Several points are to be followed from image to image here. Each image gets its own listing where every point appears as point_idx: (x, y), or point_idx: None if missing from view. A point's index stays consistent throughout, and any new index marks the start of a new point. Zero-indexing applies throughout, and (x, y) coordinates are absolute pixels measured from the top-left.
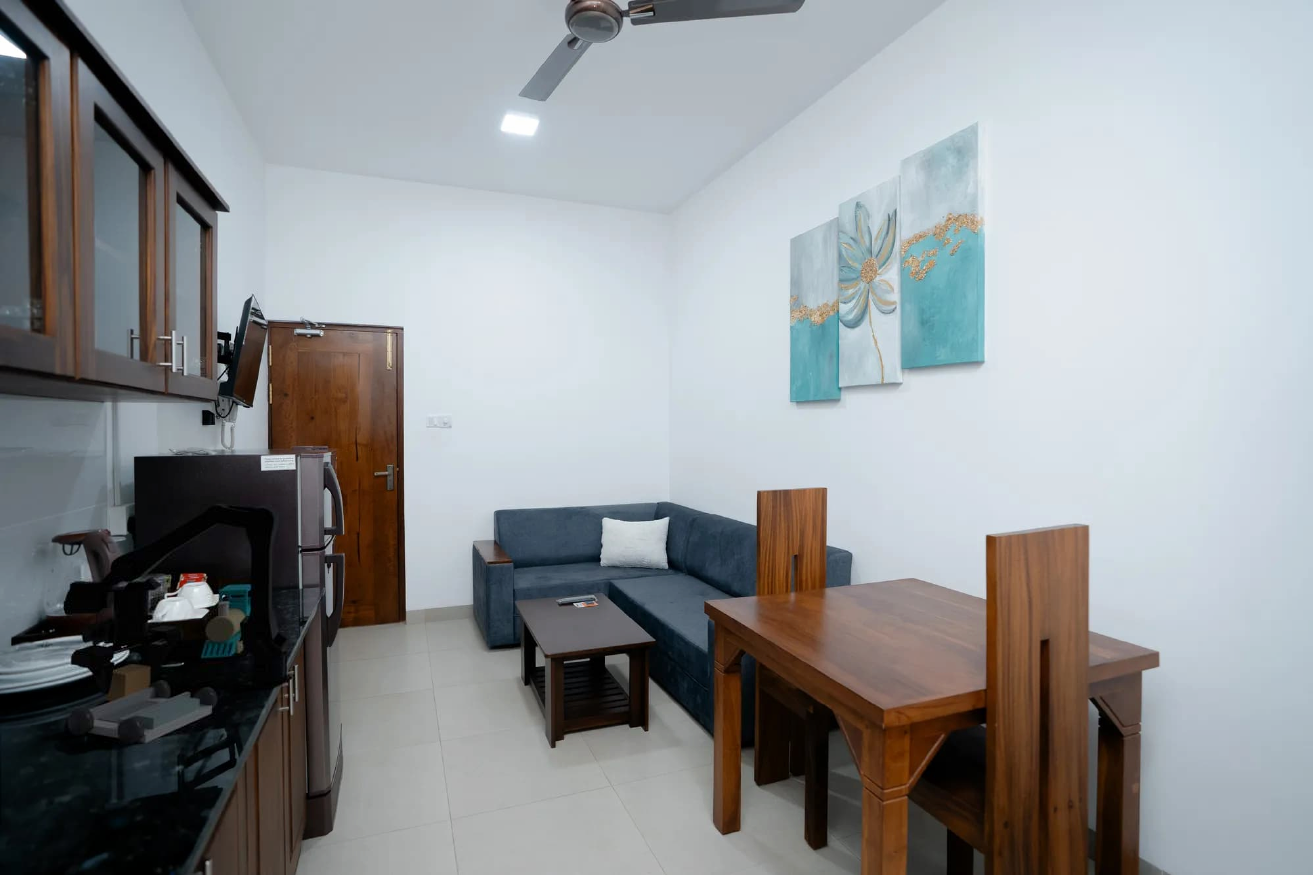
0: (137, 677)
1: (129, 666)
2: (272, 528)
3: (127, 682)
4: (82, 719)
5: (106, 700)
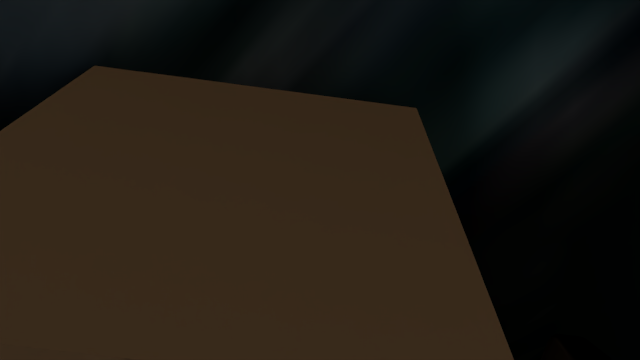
0: None
1: None
2: None
3: None
4: None
5: (92, 68)
